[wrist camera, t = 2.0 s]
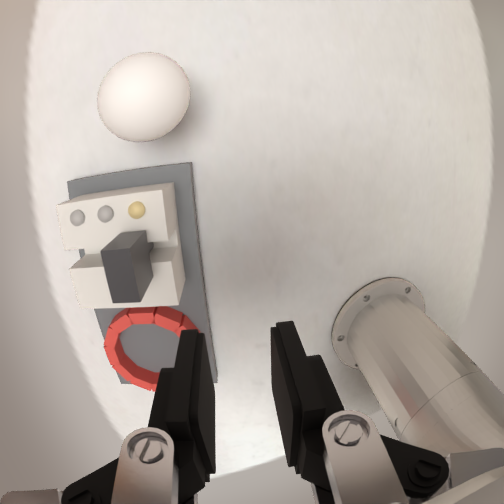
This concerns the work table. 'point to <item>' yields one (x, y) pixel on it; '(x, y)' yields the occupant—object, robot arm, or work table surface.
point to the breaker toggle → (128, 266)
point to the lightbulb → (143, 97)
